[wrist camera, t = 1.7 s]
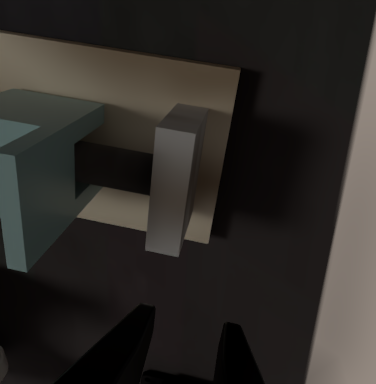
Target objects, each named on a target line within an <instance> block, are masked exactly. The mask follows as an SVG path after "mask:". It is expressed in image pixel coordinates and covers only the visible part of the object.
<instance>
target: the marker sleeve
mask: <svg viewBox="0 0 376 384" xmlns="http://www.w3.org/2000/svg"><path fill="white" fill-rule="evenodd" d="M103 123H104V104H101V103H95V102H90V101H84V100H78V99H72V98H66V97H61V96H55V95H49V94H43V93H37V92H32V91H26V90H20V89H14V88H13V89H9V90H6V91H3V92H0V218H1V225H2V232H3V239H4V247H5V254H6V262H7V268H9V269H13V270H18V271H22V272H28V271H29V270H30V268H31V267H32V266H33V265H34V264H35V263H36V262H37V261H38V259H39V258H40V257H41V256H42V255H43V254H44V253H45V252H46V250H47V249H48V248H49V247H50V246H51V245H52V244H53V243H54V241H55V240H56V239H57V238H58V237H59V236H60V235H61V234H62V233H63V231H64V230H65V229H66V228H67V227H68V226H69V225H70V224H71V222H72V221H73V220H74V219H75V218H76V217H77V216H78V215H79V213H80V212H81V211H82V210H83V209H84V208H85V207H86V206H87V204H88V203H89V202H90V201H91V200H92V199H93V198H94V197H95V195H96V194H97V193H98V192H99V191H100V190H101V189H102V188H103V187H102V186H97V185H92V184H86V183H81V182H76V181H75V159H74V144H75V143H76V142H78V141H79V140H81V139H82V138H83V137H85V136H86V135H88V134H89V133H91V132H92V131H93V130H95V129H96V128H98V127H99V126H101V125H102V124H103Z"/></svg>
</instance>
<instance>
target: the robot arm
mask: <svg viewBox="0 0 376 384" xmlns="http://www.w3.org/2000/svg"><path fill="white" fill-rule="evenodd" d="M155 310H156V308H155V306H153V305H149V304H144V303H140V304H139V305H138V306H136V307H135V308H134V309H133V310H132V311H131V312H130V313H129V314H128V315H127V316H126V317H124V318H123V319H122V320H121V321H120V322H119V323H118V324H117V325H116V326H115V327H114V328H112V329H111V330H110V331H109V332H108V333H107V334H106V335H105V336H104V337H103V338H101V339H100V340H99V341H98V342H97V343H96V344H95V345H94V346H93V347H92V348H91V349H89V350H88V351H87V352H86V353H85V354H84V355H83V356H82V357H81V358H80V359H79V360H77V361H76V362H75V363H74V364H73V365H72V366H71V367H70V368H69V369H68V370H66V371H65V372H64V373H63V374H62V375H61V376H60V377H59V378H58V379H57V380H56V381H54V382H53V383H52V384H139V382H140V378H141V375H142V371H143V367H144V364H145V360H146V356H147V353H148V349H149V345H150V341H151V338H152V334H153V328H154V319H155ZM141 384H200V383H196V382H192V381H188V380H184V379H180V378H175V377H171V376H167V375H163V374H159V373H155V372H151V371H145V372H143V375H142V378H141ZM213 384H265V382H264V380H263V377H262V375H261V373H260V370H259V368H258V365H257V363H256V361H255V358H254V356H253V354H252V351H251V349H250V346H249V344H248V342H247V339H246V337H245V335H244V332H243V330H242V328H241V326H240V325H238V324H234V323H230V322H225V323H224V325H223V329H222V333H221V338H220V342H219V346H218V352H217V359H216V366H215V373H214V380H213Z"/></svg>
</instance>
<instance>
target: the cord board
mask: <svg viewBox="0 0 376 384" xmlns="http://www.w3.org/2000/svg"><path fill="white" fill-rule="evenodd" d="M240 71H241V68H239V67H233V66H227V65H220V64H214V63H207V62H201V61H195V60H188V59H182V58H176V57H169V56H163V55H156V54H150V53H144V52H137V51H131V50H125V49H118V48H112V47H105V46H99V45H93V44H86V43H80V42H74V41H67V40H61V39H54V38H48V37H42V36H35V35H29V34H23V33H16V32H10V31H3V30H0V92H3V91H6V90H9V89H13V88H14V89H20V90H26V91H32V92H37V93H43V94H49V95H55V96H61V97H66V98H72V99H78V100H84V101H90V102H95V103H101V104H104V123H103V124H102V125H101V126H99V127H98V128H96V129H95V130H93V131H92V132H91V133H89V134H88V135H86V136H85V137H83V138H82V139H81V140H79V141H78V142H76V143H75V144H74V159H75V181H76V182H81V183H86V184H92V185H97V186H102V187H103V188H102V189H101V190H100V191H99V192H98V193H97V194H96V195H95V197H94V198H93V199H92V200H91V201H90V202H89V203H88V204H87V206H86V207H85V208H84V209H83V210H82V211H81V212H80V213H79V215H78V216H77V217H78V218H83V219H88V220H93V221H98V222H103V223H108V224H113V225H118V226H123V227H128V228H132V229H137V230H142V231H147V234H146V245H145V250H147V251H152V252H156V253H161V254H166V255H171V256H176V257H178V256H179V253H180V250H181V247H182V244H183V241H184V239H186V240H191V241H196V242H201V243H206V244H208V242H209V237H210V231H211V226H212V221H213V215H214V210H215V205H216V199H217V194H218V189H219V183H220V178H221V173H222V167H223V162H224V157H225V151H226V146H227V140H228V135H229V130H230V124H231V119H232V114H233V108H234V103H235V98H236V92H237V87H238V82H239V76H240Z"/></svg>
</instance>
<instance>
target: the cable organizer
mask: <svg viewBox="0 0 376 384" xmlns="http://www.w3.org/2000/svg"><path fill="white" fill-rule="evenodd" d="M8 367H9V366H8V362H7V359H6V356H5V353H4V350H3V348H2V347H1V346H0V383H1V382H2V380H3V379H4V377H5V376H6V374H7V372H8Z"/></svg>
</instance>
